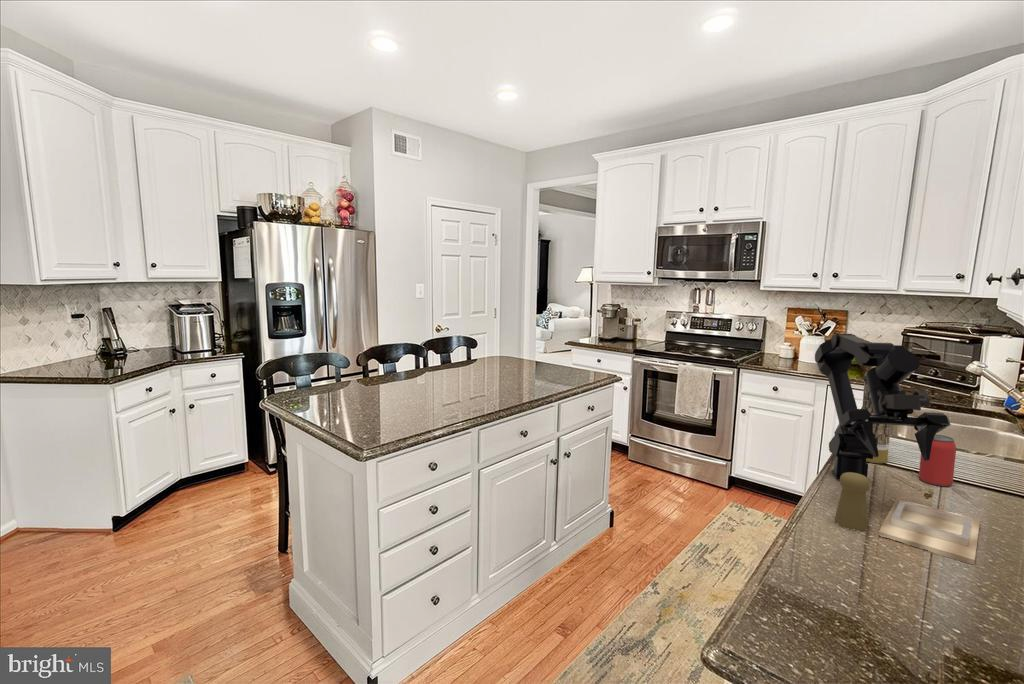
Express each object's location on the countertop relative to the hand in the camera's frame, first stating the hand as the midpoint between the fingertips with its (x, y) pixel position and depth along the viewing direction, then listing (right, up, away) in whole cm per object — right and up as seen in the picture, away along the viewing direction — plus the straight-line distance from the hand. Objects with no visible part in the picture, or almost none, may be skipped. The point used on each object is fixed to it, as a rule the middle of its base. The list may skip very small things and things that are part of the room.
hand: (901, 458), depth 102 cm
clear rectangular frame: (+4, -14, -3) cm, 15 cm away
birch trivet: (+4, -14, -3) cm, 15 cm away
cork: (-11, -14, 0) cm, 18 cm away
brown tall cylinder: (+22, -10, +37) cm, 44 cm away
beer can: (+26, -12, +22) cm, 36 cm away
